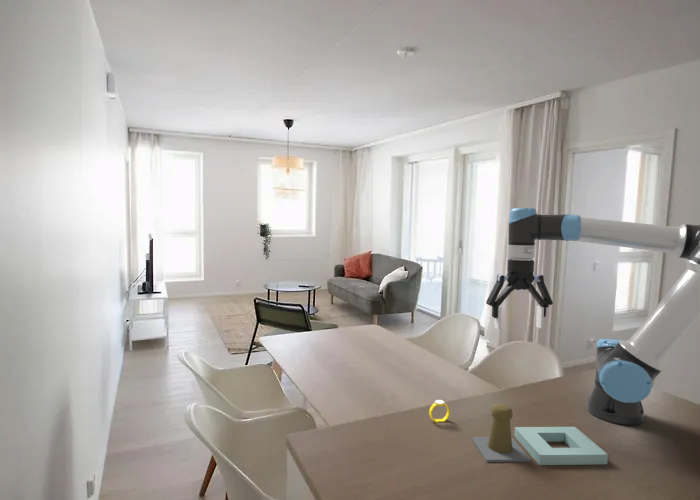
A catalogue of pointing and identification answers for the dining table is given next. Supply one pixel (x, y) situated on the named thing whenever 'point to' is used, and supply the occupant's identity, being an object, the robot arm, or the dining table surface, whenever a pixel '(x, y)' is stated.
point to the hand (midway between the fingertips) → (518, 328)
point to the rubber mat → (493, 456)
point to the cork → (500, 429)
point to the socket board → (544, 454)
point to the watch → (439, 403)
